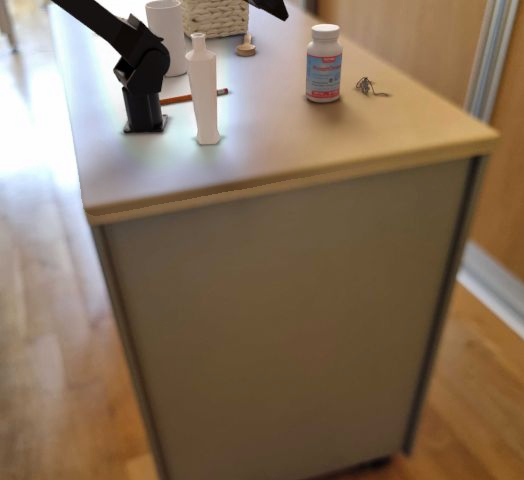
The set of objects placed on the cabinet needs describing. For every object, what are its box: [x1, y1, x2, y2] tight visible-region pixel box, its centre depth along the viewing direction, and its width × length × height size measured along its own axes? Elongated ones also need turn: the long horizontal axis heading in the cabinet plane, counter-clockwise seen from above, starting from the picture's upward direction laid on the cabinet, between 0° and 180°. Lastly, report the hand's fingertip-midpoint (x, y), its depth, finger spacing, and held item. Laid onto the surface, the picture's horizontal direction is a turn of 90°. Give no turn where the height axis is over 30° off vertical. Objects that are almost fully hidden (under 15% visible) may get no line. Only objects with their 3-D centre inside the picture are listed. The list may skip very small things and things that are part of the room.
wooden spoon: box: [236, 33, 256, 57], centre depth 125 cm, size 14×4×1 cm, turn 179°
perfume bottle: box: [185, 33, 221, 145], centre depth 85 cm, size 5×4×15 cm
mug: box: [144, 0, 187, 77], centre depth 112 cm, size 10×7×12 cm, turn 14°
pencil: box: [160, 87, 229, 106], centre depth 102 cm, size 1×19×1 cm, turn 112°
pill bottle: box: [305, 23, 343, 104], centre depth 98 cm, size 6×6×11 cm
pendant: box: [355, 76, 389, 96], centre depth 103 cm, size 8×4×3 cm, turn 28°
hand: (273, 12), depth 92 cm, fingers open, 9 cm apart
